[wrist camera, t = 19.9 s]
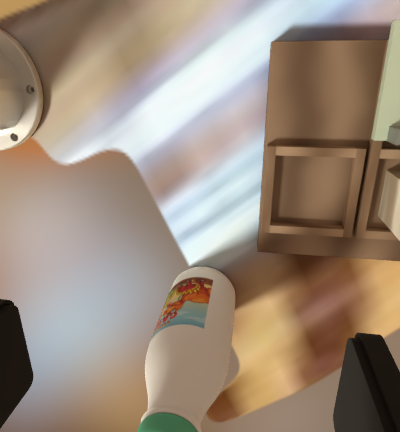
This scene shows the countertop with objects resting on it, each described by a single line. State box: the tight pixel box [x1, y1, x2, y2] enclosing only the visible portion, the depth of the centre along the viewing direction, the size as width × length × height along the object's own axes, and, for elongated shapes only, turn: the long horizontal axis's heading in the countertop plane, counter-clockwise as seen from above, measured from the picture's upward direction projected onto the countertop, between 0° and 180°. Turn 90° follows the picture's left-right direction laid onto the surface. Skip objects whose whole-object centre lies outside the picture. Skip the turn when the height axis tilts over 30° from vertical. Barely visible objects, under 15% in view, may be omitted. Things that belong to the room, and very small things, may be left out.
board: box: [258, 39, 400, 261], centre depth 33 cm, size 18×20×3 cm
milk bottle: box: [137, 266, 235, 432], centre depth 33 cm, size 8×8×20 cm
